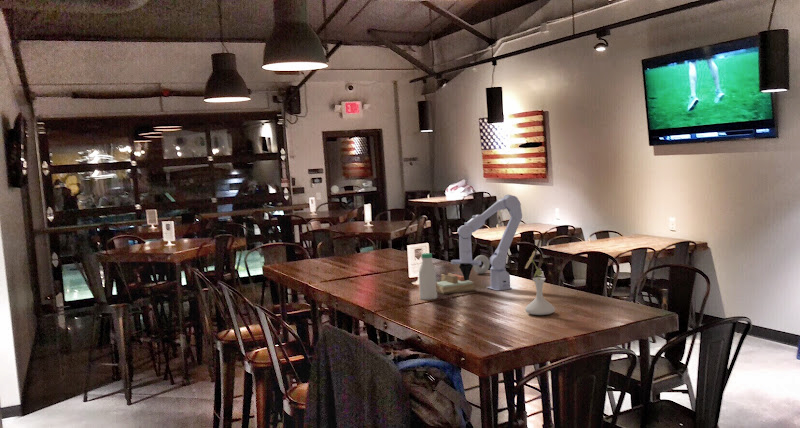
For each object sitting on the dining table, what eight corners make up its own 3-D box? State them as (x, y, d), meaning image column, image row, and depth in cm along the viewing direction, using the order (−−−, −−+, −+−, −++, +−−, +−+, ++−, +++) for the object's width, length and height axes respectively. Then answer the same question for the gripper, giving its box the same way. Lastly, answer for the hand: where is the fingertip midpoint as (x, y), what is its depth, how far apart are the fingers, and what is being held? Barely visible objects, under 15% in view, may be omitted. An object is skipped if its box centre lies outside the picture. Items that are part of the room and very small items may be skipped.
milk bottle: (435, 300, 296) (434, 254, 295) (418, 300, 298) (416, 255, 297) (438, 296, 304) (436, 252, 303) (421, 296, 306) (419, 252, 304)
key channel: (462, 286, 326) (461, 276, 325) (453, 287, 324) (453, 277, 323) (449, 282, 337) (448, 273, 337) (441, 283, 336) (440, 274, 335)
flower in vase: (534, 309, 270) (532, 247, 268) (560, 312, 263) (558, 248, 261) (517, 316, 260) (515, 251, 258) (544, 319, 253) (542, 252, 251)
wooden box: (474, 289, 316) (474, 283, 315) (443, 294, 309) (443, 287, 309) (462, 286, 326) (462, 280, 325) (432, 290, 319) (432, 284, 319)
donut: (475, 275, 356) (474, 256, 355) (471, 274, 359) (471, 255, 358) (491, 273, 360) (490, 254, 359) (487, 272, 363) (487, 253, 362)
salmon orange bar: (465, 280, 320) (465, 276, 320) (461, 280, 319) (461, 277, 319) (455, 277, 329) (455, 274, 329) (451, 277, 328) (450, 274, 328)
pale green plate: (473, 283, 316) (472, 275, 315) (443, 287, 309) (443, 278, 309) (462, 280, 325) (461, 272, 325) (433, 284, 319) (433, 275, 319)
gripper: (483, 250, 315) (484, 279, 316) (454, 249, 322) (456, 277, 324) (477, 252, 309) (478, 281, 310) (448, 251, 316) (449, 280, 317)
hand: (466, 280), depth 316 cm, fingers closed
